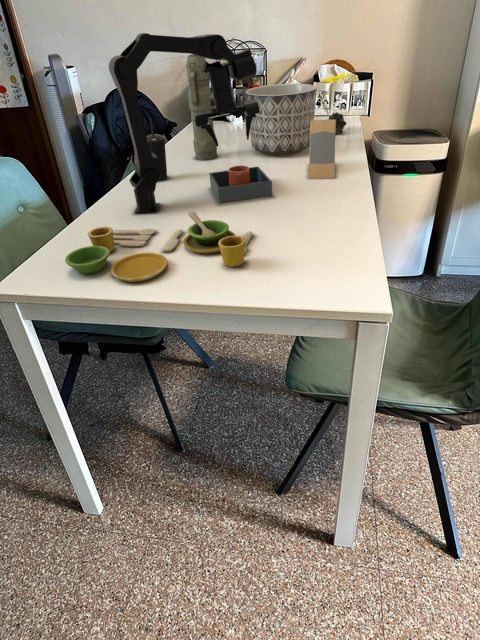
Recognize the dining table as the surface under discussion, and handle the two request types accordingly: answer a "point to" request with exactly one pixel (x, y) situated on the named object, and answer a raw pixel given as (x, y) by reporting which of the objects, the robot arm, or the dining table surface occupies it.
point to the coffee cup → (239, 175)
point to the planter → (282, 117)
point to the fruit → (338, 122)
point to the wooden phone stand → (322, 149)
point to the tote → (240, 186)
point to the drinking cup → (158, 150)
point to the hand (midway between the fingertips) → (232, 142)
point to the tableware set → (149, 265)
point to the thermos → (200, 107)
